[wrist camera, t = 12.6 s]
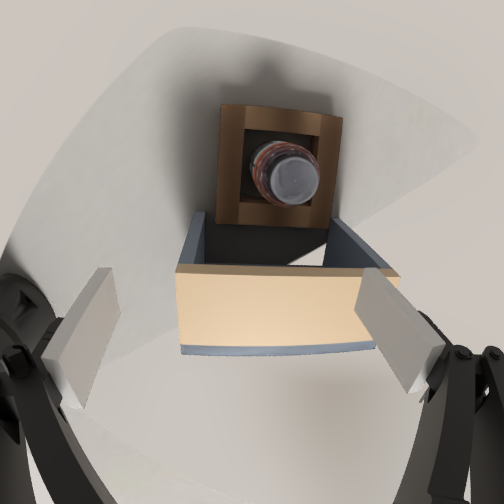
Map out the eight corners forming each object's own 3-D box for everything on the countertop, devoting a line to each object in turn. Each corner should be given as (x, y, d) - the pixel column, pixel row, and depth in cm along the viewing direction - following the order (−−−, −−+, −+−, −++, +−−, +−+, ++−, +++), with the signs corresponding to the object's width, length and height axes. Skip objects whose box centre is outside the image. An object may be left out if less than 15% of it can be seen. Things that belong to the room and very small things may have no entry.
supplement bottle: (307, 174, 34) (342, 195, 23) (264, 198, 34) (281, 231, 24) (283, 130, 31) (310, 132, 21) (238, 156, 32) (243, 169, 22)
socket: (216, 215, 35) (215, 223, 32) (222, 106, 29) (221, 104, 27) (320, 220, 36) (328, 228, 33) (333, 118, 31) (342, 117, 28)
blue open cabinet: (195, 270, 38) (181, 354, 23) (195, 210, 34) (174, 272, 20) (328, 273, 39) (374, 348, 25) (339, 218, 36) (400, 276, 22)
